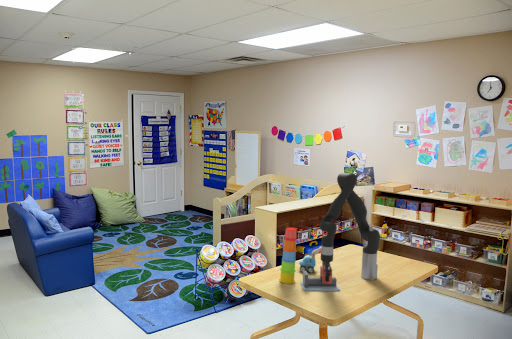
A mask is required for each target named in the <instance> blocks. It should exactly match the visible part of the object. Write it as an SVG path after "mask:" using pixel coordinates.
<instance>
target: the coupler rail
mask: <svg viewBox="0 0 512 339" xmlns="http://www.w3.org/2000/svg"><path fill="white" fill-rule="evenodd" d="M302 282H303V285H304V287H306V288H308V286H336V284H337V278H336V277H334V276H332V284H322V277H320V276H317V277H316V276H313V277H312V276H310V277H309V272H308V270H305V271H303V272H302Z"/></svg>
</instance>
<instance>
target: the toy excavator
mask: <svg viewBox="0 0 512 339" xmlns="http://www.w3.org/2000/svg"><path fill="white" fill-rule="evenodd" d="M319 252H320V253H321V246H319V247H318V248H316V249H314V250H312V252H311V255H310V254H306V255H305V256H304V257H303V259H301V260H299V262H298V265H299V271H300V272H301V273H303V271H307V273H310V274H312V273H313V272H314V269H315V267H316V263H317V262H316V254H318V253H319Z"/></svg>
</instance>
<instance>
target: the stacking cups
mask: <svg viewBox="0 0 512 339" xmlns="http://www.w3.org/2000/svg"><path fill="white" fill-rule="evenodd" d="M284 232H285V233H284V235H285V236H284V238H283V239H284V242H283V243H284V244H283V248H282V250H283V251H282V258H281V268H279V270H280V274H279V275H280V277H279V279H278V280H279V282H280V283H282V284H286V285H292V284H295V282H296V279H295V275H296V274H295V273H296V262H297V260H296V254H297V240H298V239H297V233H298V229H297V228H296V227H293V226H287V227H286V228H285V231H284Z"/></svg>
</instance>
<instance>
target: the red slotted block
mask: <svg viewBox="0 0 512 339" xmlns="http://www.w3.org/2000/svg"><path fill="white" fill-rule="evenodd" d="M326 270H327V269H326ZM325 273H326V272H325V269H324V267H323V266H322V265H320V271H319V277H322V284H332V277H333V269H332V267H331V276H329V282H326V281H325V277H326V275H325ZM328 274H329V272H328Z"/></svg>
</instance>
